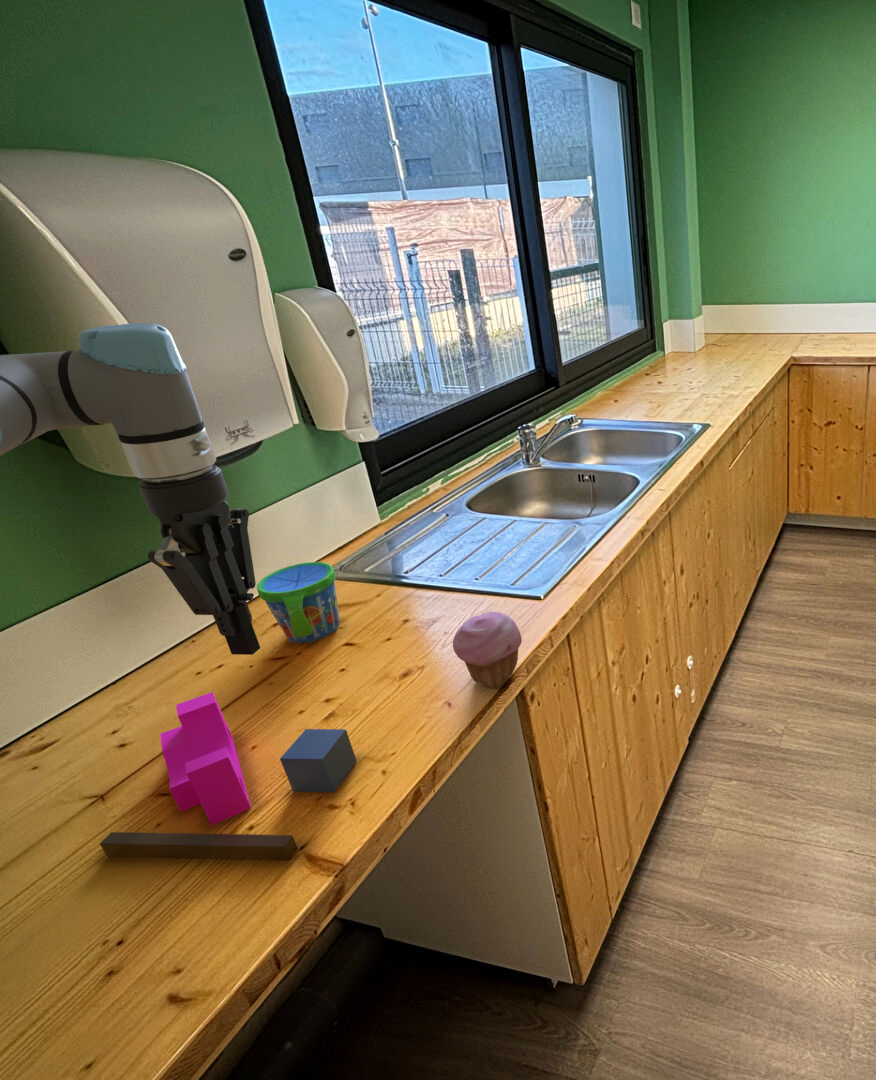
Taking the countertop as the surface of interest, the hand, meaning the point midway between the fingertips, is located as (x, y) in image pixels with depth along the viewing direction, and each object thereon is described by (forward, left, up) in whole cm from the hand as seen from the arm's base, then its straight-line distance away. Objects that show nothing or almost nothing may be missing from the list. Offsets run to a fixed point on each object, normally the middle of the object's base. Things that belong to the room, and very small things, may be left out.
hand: (246, 651), depth 87 cm
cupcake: (+26, +10, -12) cm, 30 cm away
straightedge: (+5, -20, -12) cm, 24 cm away
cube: (+12, -9, -12) cm, 19 cm away
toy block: (-1, -11, -12) cm, 16 cm away
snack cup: (-8, +22, -12) cm, 26 cm away
